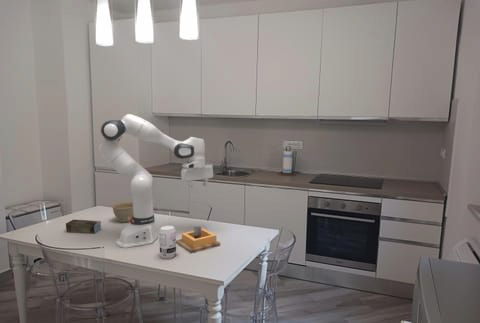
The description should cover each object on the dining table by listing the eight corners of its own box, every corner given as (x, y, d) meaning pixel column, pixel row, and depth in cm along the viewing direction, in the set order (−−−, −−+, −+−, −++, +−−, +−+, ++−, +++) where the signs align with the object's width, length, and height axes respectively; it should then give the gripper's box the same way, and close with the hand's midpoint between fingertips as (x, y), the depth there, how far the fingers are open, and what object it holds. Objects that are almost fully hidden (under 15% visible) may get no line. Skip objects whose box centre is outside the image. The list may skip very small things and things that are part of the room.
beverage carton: (94, 234, 207) (94, 223, 206) (65, 233, 209) (64, 222, 208) (101, 230, 215) (101, 219, 214) (73, 228, 217) (72, 218, 216)
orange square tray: (194, 248, 181) (193, 240, 181) (181, 240, 192) (181, 233, 192) (216, 242, 189) (216, 235, 189) (203, 235, 200) (203, 228, 200)
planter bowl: (116, 217, 240) (115, 202, 239) (140, 216, 242) (139, 201, 241) (110, 224, 224) (109, 208, 223) (135, 223, 226) (135, 207, 225)
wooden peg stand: (191, 253, 178) (190, 235, 177) (175, 242, 192) (175, 226, 191) (220, 245, 189) (219, 228, 187) (203, 236, 203) (203, 220, 202)
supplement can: (161, 253, 178) (160, 225, 176) (177, 252, 179) (176, 224, 177) (158, 259, 170) (157, 230, 168) (175, 259, 171) (174, 230, 169)
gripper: (209, 161, 210) (210, 183, 212) (179, 164, 198) (179, 187, 200) (215, 163, 205) (215, 185, 207) (184, 165, 193) (184, 189, 195)
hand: (197, 186), depth 203 cm, fingers open, 8 cm apart
